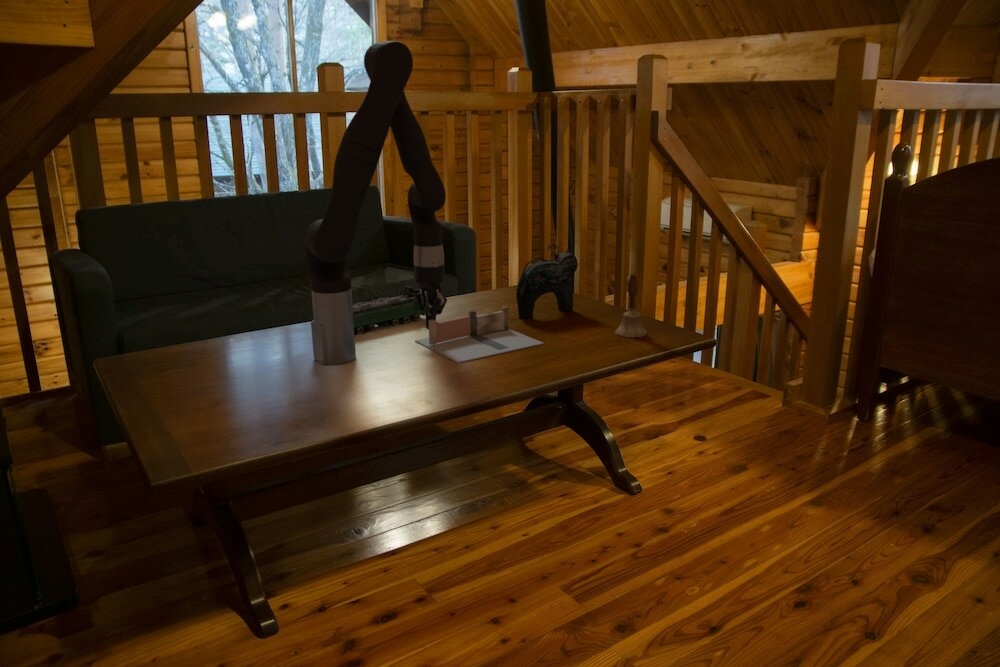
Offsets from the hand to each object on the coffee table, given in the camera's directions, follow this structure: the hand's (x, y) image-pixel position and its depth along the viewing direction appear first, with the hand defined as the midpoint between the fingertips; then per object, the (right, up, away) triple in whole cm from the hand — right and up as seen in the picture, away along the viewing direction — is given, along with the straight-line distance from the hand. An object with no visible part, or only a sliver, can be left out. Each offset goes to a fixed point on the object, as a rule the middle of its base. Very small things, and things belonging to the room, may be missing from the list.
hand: (431, 329), depth 200 cm
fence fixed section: (+15, -1, +8) cm, 17 cm away
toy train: (-15, 0, +15) cm, 21 cm away
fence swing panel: (+5, -3, +1) cm, 5 cm away
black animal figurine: (+31, +4, +27) cm, 41 cm away
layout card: (+12, -3, +1) cm, 13 cm away
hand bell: (+52, -1, +8) cm, 53 cm away
